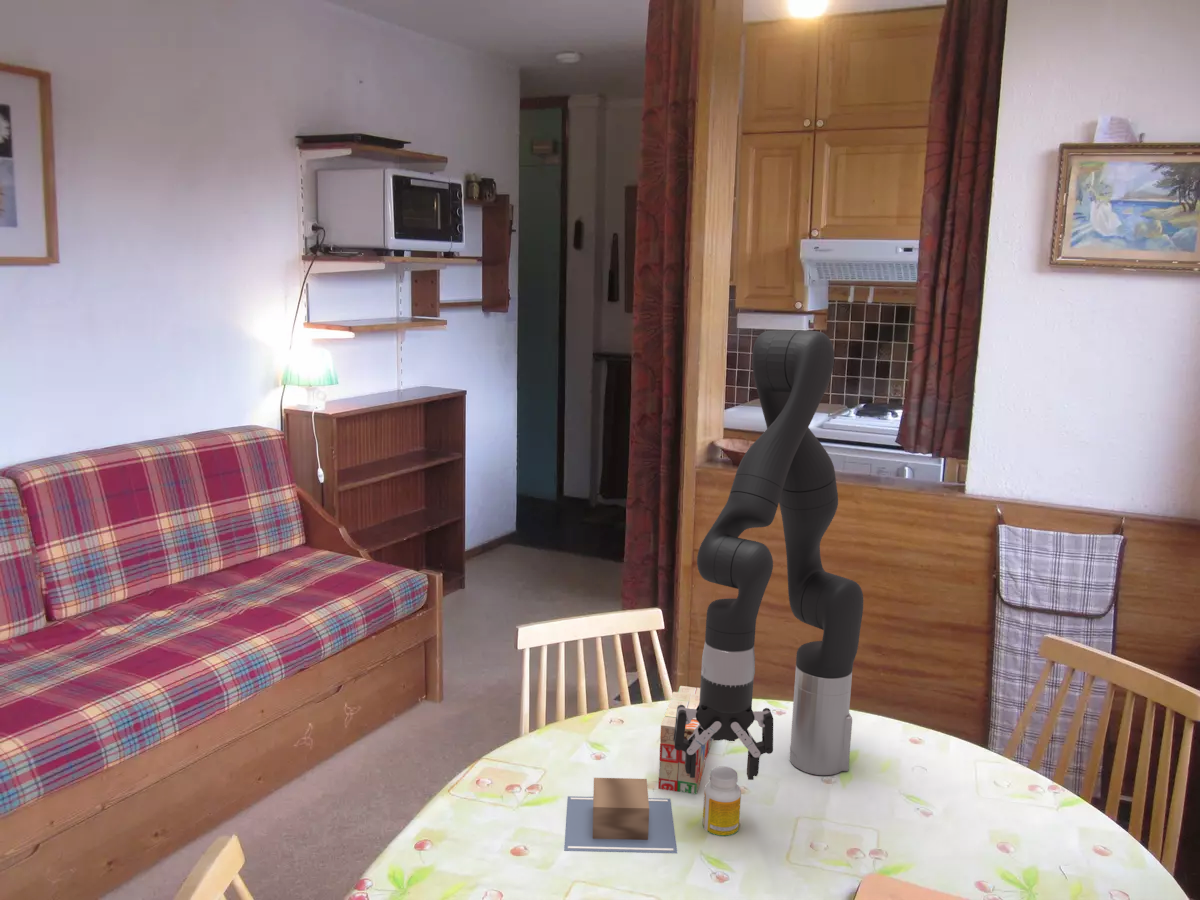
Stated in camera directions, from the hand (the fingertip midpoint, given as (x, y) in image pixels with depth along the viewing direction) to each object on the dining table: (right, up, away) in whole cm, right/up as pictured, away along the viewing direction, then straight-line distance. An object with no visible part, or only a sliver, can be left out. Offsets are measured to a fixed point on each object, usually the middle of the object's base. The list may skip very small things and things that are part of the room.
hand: (720, 776), depth 140 cm
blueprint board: (-15, -9, +2) cm, 17 cm away
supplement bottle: (0, -9, +2) cm, 9 cm away
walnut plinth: (-15, -8, +2) cm, 17 cm away
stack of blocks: (-3, -5, +21) cm, 22 cm away
